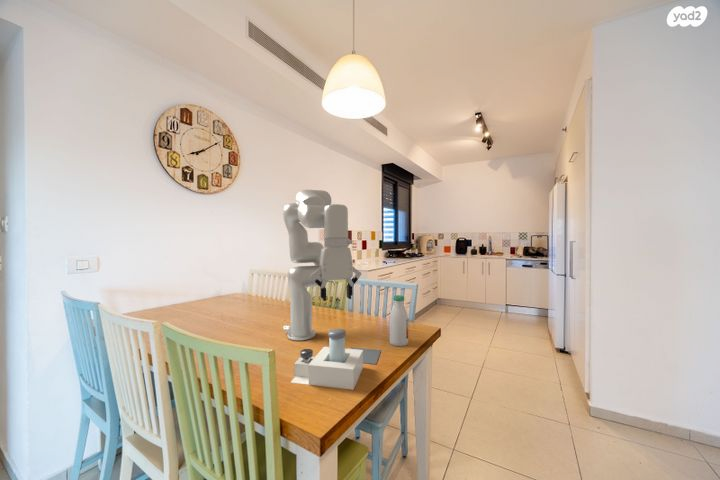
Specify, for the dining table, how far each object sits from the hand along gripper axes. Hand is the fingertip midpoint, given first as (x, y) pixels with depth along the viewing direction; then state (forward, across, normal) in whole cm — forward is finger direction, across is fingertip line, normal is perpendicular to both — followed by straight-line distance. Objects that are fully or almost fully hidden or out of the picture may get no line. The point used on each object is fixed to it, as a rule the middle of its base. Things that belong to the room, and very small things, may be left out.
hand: (336, 298), depth 92 cm
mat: (+26, -12, -11) cm, 31 cm away
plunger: (+24, +9, -5) cm, 27 cm away
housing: (+26, +3, -2) cm, 26 cm away
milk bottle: (+26, -31, -20) cm, 45 cm away
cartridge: (+25, 0, 0) cm, 25 cm away
